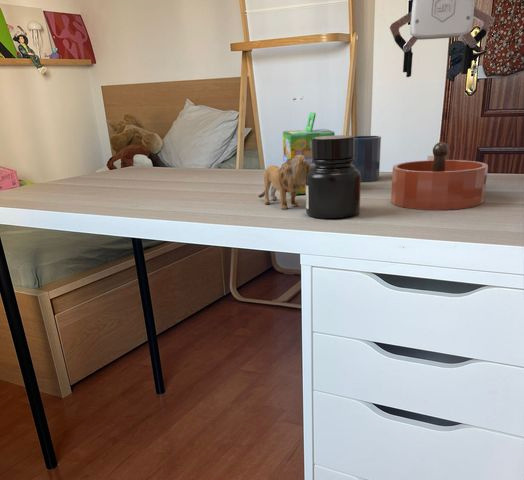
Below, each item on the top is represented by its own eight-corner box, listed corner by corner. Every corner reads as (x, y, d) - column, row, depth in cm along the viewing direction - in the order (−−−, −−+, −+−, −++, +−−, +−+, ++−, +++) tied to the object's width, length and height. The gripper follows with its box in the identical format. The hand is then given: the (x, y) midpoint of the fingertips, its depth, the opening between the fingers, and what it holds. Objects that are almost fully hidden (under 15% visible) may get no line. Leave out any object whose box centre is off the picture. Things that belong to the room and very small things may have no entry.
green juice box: (283, 188, 114) (280, 113, 107) (325, 185, 115) (325, 111, 108) (290, 195, 106) (288, 115, 99) (335, 192, 106) (335, 112, 100)
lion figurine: (318, 207, 94) (318, 154, 90) (295, 212, 91) (293, 157, 87) (269, 198, 105) (267, 150, 101) (247, 202, 102) (244, 152, 98)
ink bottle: (331, 206, 94) (332, 134, 89) (371, 211, 88) (375, 134, 83) (293, 215, 88) (291, 139, 83) (333, 222, 82) (334, 140, 77)
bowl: (473, 186, 105) (477, 154, 102) (488, 209, 85) (493, 171, 83) (393, 187, 109) (394, 156, 106) (389, 209, 89) (391, 172, 86)
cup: (379, 176, 122) (381, 135, 118) (378, 181, 116) (380, 138, 112) (347, 177, 124) (347, 136, 120) (343, 182, 118) (344, 139, 114)
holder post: (460, 196, 97) (466, 138, 92) (465, 205, 89) (472, 143, 85) (409, 196, 99) (413, 140, 94) (409, 206, 91) (414, 145, 87)
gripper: (393, -40, 86) (387, 77, 94) (506, -51, 83) (490, 72, 90) (392, -31, 93) (386, 78, 100) (497, -41, 89) (483, 73, 97)
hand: (435, 75), depth 95 cm, fingers open, 9 cm apart
